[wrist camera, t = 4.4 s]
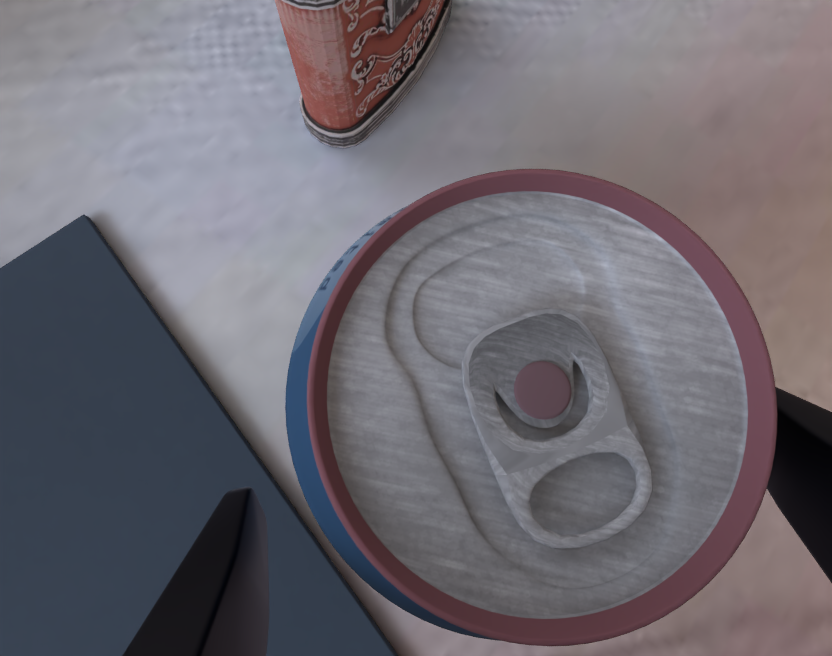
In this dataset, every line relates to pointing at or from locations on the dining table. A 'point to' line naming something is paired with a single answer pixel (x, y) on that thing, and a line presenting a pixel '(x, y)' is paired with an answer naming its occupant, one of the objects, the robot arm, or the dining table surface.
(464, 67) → the dining table surface
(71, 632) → the placemat
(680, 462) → the soda can
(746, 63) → the dining table surface
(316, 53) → the lighter
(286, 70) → the dining table surface
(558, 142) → the dining table surface
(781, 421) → the robot arm
